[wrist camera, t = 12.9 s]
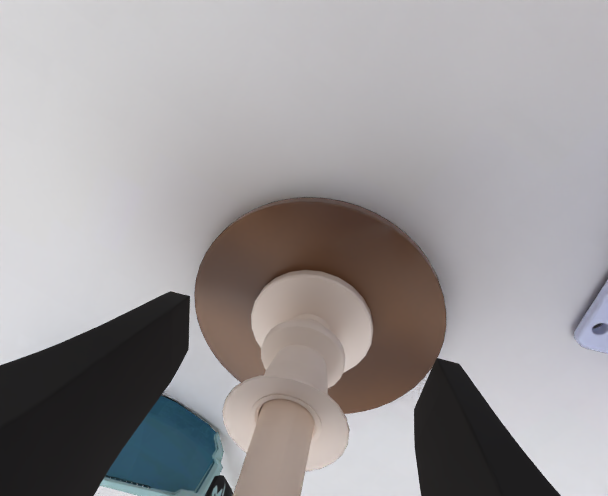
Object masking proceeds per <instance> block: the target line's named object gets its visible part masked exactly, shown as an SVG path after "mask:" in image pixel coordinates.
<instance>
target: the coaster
mask: <svg viewBox="0 0 608 496" xmlns="http://www.w3.org/2000/svg"><path fill="white" fill-rule="evenodd" d="M301 270H312V271H321V272H325V273H328V274H331V275H333V276H336V277H339V278H340V279H342V280H343V281H345V282H347V283H348V284H350V285H351V286H353V287H354V288H355V289H356V291H357V292H358V293H359V294H360V295H361V296H362V297H363V298H364V300H365V302H366V304H367V306H368V307H369V309H370V311H371V317H372V322H373V335H372V343H371V346H370V348H369V350H368V352H367V354H366V356H365V357H364V358H363V359H362V360H361V361H360V362H359V363H358V364H357V365H356V366H354V367H353V368H351V369H349V370H348V371H346V372H344V373H343V374H342V376H341V378H340V379H339V380H338V381H337V382H336V384H335V385H333V386H331V387H330V388H328V395H329V396H330V397H331V398H332V399H333V400H334V401H335V402H336V403H337V404H338V405H339V407H340V408H341V410H342V411H343V413H344V414H349V413H356V412H362V411H366V410H370V409H374V408H377V407H380V406H382V405H385V404H387V403H390V402H392V401H394V400H396V399H397V398H399V397H401V396H403V395H404V394H406V393H407V392H408V391H410V390H411V389H412V388H414V387H415V386H416V385H417V384H418V383H419V382H420V381H421V380H422V379H423V378H424V377H425V376H426V374H427V373H428V372H429V370H430V369H431V368H432V366H433V365H434V363H435V360H436V358H437V357H438V355H439V353H440V350H441V347H442V344H443V342H444V336H445V330H446V308H445V302H444V296H443V293H442V290H441V287H440V284H439V281H438V278H437V275H436V273H435V271H434V270H433V268H432V266H431V264H430V262H429V260H428V259H427V257H426V256H425V255H424V253H423V252H422V251H421V249H420V248H419V247H418V246H417V245H416V243H415V242H414V241H413V240H412V239H411V238H410V237H409V236H408V235H407V234H406V233H404V232H403V231H402V230H400V229H399V228H398V227H397V226H395V225H394V224H393V223H391V222H390V221H388V220H386V219H385V218H383V217H381V216H380V215H378V214H376V213H374V212H371V211H369V210H367V209H364V208H362V207H360V206H357V205H353V204H350V203H346V202H343V201H338V200H332V199H326V198H305V197H304V198H294V199H285V200H281V201H277V202H273V203H269V204H266V205H264V206H261V207H259V208H256V209H254V210H252V211H250V212H248V213H247V214H245V215H243V216H241V217H240V218H238V219H237V220H236V221H235V222H233V223H232V224H231V225H229V226H228V227H227V228H226V229H225V230H224V231H223V232H222V233H221V234H220V235H219V236H218V237H217V239H216V240H215V241H214V242H213V243H212V245H211V246H210V248H209V249H208V251H207V252H206V254H205V256H204V258H203V260H202V262H201V265H200V267H199V271H198V274H197V278H196V285H195V308H196V314H197V319H198V322H199V325H200V328H201V331H202V334H203V336H204V338H205V340H206V342H207V344H208V346H209V347H210V349H211V350H212V352H213V354H214V355H215V356H216V358H217V359H218V360H219V361H220V363H221V364H222V365H223V366H224V367H225V368H226V369H227V370H228V371H229V372H230V373H231V374H232V375H233V376H234V377H235V378H236V379H237V380H239V381H240V382H241V383H242V382H243V381H245V380H247V379H251V378H254V377H257V376H264V374H265V371H266V369H265V368H264V365H263V362H262V359H261V347H260V346H259V344H258V343H257V341H256V339H255V336H254V333H253V330H252V324H251V313H252V310H253V306H254V303H255V301H256V299H257V297H258V296H259V294H260V293H261V291H262V290H263V288H264V287H265V286H266V285H267V284H268V283H270V282H271V281H272V280H273V279H275V278H276V277H279V276H281V275H283V274H286V273H288V272H293V271H301Z"/></svg>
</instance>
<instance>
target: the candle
mask: <svg viewBox="0 0 608 496" xmlns="http://www.w3.org/2000/svg"><path fill="white" fill-rule="evenodd" d="M251 324H252V330H253V333H254V336H255V339H256V341H257V343H258V344H259V346H260V347H261V359H262V362H263V365H264V368H265V369H266V371H265V374H264V376H257V377H254V378H251V379H247V380H245V381H243V382H242V383H240V384H239V385H237V386H236V387H234V388H233V389H232V391H231V392H230V393H229V395H228V396H227V397H226V400H225V403H224V407H223V422H224V425H225V427H226V429H227V432H228V434H229V436H230V437H231V438H232V440H233V441H234V442H235V443H236V445H237V446H238V447H239V448H241V449H242V450H243V451H244V452H245V453H246V457H245V460H244V463H243V466H242V469H241V473H240V476H239V479H238V482H237V485H236V488H235V491H234V494H233V496H300V495H301V490H302V485H303V480H304V475H305V471H312V470H317V469H321V468H324V467H326V466H328V465H330V464H332V463H334V462H335V461H336V460H337V459H338V458H339V457H341V456H342V454H343V453H344V451H345V449H346V447H347V445H348V438H349V427H348V423H347V419H346V416H345V415H344V413H343V411H342V410H341V408H340V407H339V405H338V404H337V403H336V402H335V401H334V400H333V399H332V398H331V397H330V396H329V395H328V388H330V387H331V386H333V385H335V384H336V382H337V381H338V380H339V379H340V378H341V376H342V374H343V373H344V372H346V371H348V370H349V369H351V368H353V367H354V366H356V365H357V364H358V363H359V362H360V361H361V360H362V359H363V358H364V357H365V356H366V354H367V352H368V350H369V348H370V346H371V343H372V335H373V322H372V317H371V311H370V309H369V307H368V306H367V304H366V302H365V300H364V298H363V297H362V296H361V295H360V294H359V293H358V292H357V291H356V289H355V288H354V287H353V286H351V285H350V284H348V283H347V282H345V281H343V280H342V279H340V278H339V277H336V276H333V275H331V274H328V273H325V272H321V271H312V270H301V271H293V272H288V273H286V274H283V275H281V276H279V277H276V278H275V279H273V280H272V281H271V282H270V283H268V284H267V285H266V286H265V287H264V288H263V290H262V291H261V293H260V294H259V296H258V297H257V299H256V301H255V303H254V306H253V310H252V313H251Z"/></svg>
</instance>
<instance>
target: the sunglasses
mask: <svg viewBox="0 0 608 496" xmlns="http://www.w3.org/2000/svg"><path fill="white" fill-rule="evenodd" d="M223 452H224V451H223V448H222V444H221V441H220V437H219V434H218V432H215V431H214V430H213V429H212V428H211V427H210V426H209V425H208V424H207V423H206V422H204V421H203V420H201V419H200V418H198V417H197V416H195V415H194V414H193V413H191V412H190V411H188V410H187V409H185V408H184V407H182V406H181V405H179V404H178V403H177V402H175V401H172V400H170V399H168V398H165V397H163V396H160V398H159V399H158V400H157V402H156V403H155V405H154V406H153V407H152V409H151V410H150V412H149V413H148V414H147V416H146V417H145V419H144V420H143V421H142V423H141V424H140V425H139V427H138V428H137V430H136V431H135V432H134V434H133V435H132V437H131V438H130V439H129V441H128V442H127V444H126V445H125V446H124V448H123V449H122V451H121V452H120V454H119V455H118V457H117V458H116V460H115V461H114V463H113V464H112V466H111V467H110V469H109V470H108V472H107V474H106V476H105V477H104V479H103V481H102V482H101V484H100V486H103V487H107V488H111V489H115V490H119V491H122V492H126V493H130V494H134V495H138V496H233V492H232V489H231V488H230V486H229V484H228V483H227V481H226V479H225V477H224V476H222V475H220V472H221V470H222V468H223V467H222V465H221V460H222V456H223ZM110 477H111V478H110ZM126 481H127V482H126ZM131 482H132V483H131ZM137 484H138V485H137ZM143 485H144V486H143ZM148 487H149V488H148Z"/></svg>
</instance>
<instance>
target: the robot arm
mask: <svg viewBox="0 0 608 496" xmlns="http://www.w3.org/2000/svg"><path fill="white" fill-rule="evenodd" d="M189 309H190V296H187V295H183V294H179V293H175V292H171V291H170V292H168V293H166V294H164V295H162V296H159V297H157V298H155V299H153V300H151V301H149V302H147V303H145V304H143V305H141V306H139V307H137V308H135V309H133V310H131V311H129V312H127V313H125V314H123V315H121V316H119V317H117V318H115V319H113V320H111V321H109V322H107V323H105V324H103V325H100V326H98V327H96V328H94V329H91V330H89V331H87V332H85V333H82V334H80V335H78V336H76V337H73V338H71V339H69V340H67V341H64V342H62V343H60V344H57V345H55V346H52V347H50V348H47V349H45V350H42V351H39V352H37V353H34V354H31V355H28V356H26V357H23V358H20V359H17V360H15V361H12V362H9V363H6V364H3V365H0V496H94V494H95V492H96V491H97V489H98V487H99V486H100V484H101V482H102V481H103V479H104V477H105V476H106V474H107V472H108V470H109V469H110V467H111V466H112V464H113V463H114V461H115V460H116V458H117V457H118V455H119V454H120V452H121V451H122V449H123V448H124V446H125V445H126V444H127V442H128V441H129V439H130V438H131V437H132V435H133V434H134V432H135V431H136V430H137V428H138V427H139V425H140V424H141V423H142V421H143V420H144V419H145V417H146V416H147V414H148V413H149V412H150V410H151V409H152V407H153V406H154V405H155V403H156V402H157V400H158V399H159V398H160V396H161V395H162V393H163V392H164V391H165V389H166V388H167V386H168V385H169V383H170V382H171V380H172V379H173V377H174V375H175V374H176V372H177V370H178V368H179V366H180V365H181V363H182V361H183V359H184V357H185V355H186V353H187V351H188V346H189ZM599 323H602V325H600V326H599V327H597V328H593V327H594V326H595V325H596V324H599ZM574 338H575V340H576V341H577V342H578V343H579V344H580V346H582V347H584V348H587V349H591V350H595V351H599V352H603V353H607V354H608V280H607V281H606V283H605V284H604V286H603V288H602V289H601V291H600V292H599V294H598V295H597V297H596V299H595V300H594V302H593V303H592V305H591V306H590V308H589V309H588V311H587V313H586V314H585V316H584V317H583V319H582V320H581V322H580V323H579V325H578V327H577V328H576V330H575V332H574ZM414 437H415V453H416V460H417V468H418V475H419V483H420V490H421V496H560V494H559V493H558V492H557V491H556V490H555V489H554V487H553V486H552V485H551V484H550V483H549V482H548V480H547V479H546V478H545V477H544V476H543V474H542V473H541V472H540V471H539V470H538V468H537V467H536V466H535V465H534V463H533V462H532V461H531V460H530V459H529V457H528V456H527V455H526V454H525V452H524V451H523V450H522V449H521V447H520V446H519V445H518V443H517V442H516V441H515V440H514V438H513V437H512V436H511V434H510V433H509V432H508V430H507V429H506V428H505V426H504V425H503V424H502V422H501V421H500V420H499V418H498V417H497V416H496V414H495V413H494V412H493V410H492V409H491V407H490V406H489V405H488V403H487V402H486V400H485V399H484V398H483V396H482V395H481V393H480V392H479V391H478V389H477V388H476V386H475V385H474V384H473V382H472V381H471V379H470V378H469V377H468V375H467V374H466V372H465V371H464V370H463V368H462V367H461V366H460V364H458V363H454V362H450V361H446V360H442V359H438V358H436V360H435V363H434V365H433V367H432V370H431V372H430V374H429V377H428V379H427V381H426V383H425V386H424V388H423V390H422V393H421V395H420V397H419V400H418V402H417V404H416V406H415V409H414Z"/></svg>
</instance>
